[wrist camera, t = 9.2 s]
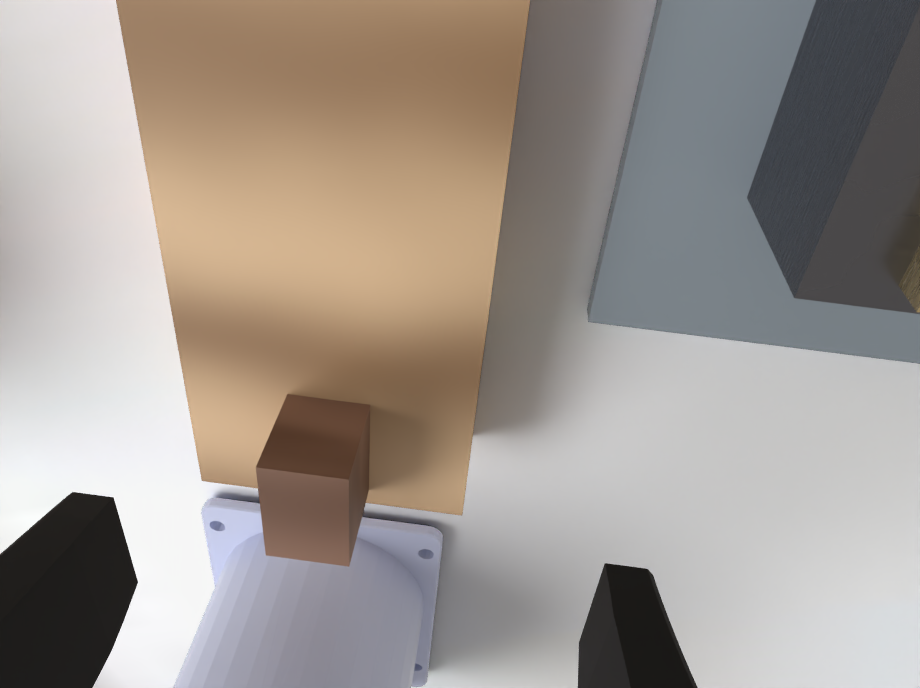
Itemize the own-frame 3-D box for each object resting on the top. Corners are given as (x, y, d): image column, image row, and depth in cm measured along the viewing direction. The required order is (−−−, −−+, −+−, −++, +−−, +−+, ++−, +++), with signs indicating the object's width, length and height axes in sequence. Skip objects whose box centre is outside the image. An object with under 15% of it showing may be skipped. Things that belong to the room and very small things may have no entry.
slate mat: (982, 357, 19) (994, 372, 18) (587, 308, 19) (588, 321, 19) (1371, -245, 12) (1406, -247, 11) (728, -312, 12) (735, -315, 11)
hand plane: (471, 436, 22) (452, 593, 18) (239, 406, 22) (164, 554, 18) (644, -884, 9) (731, -1492, 5) (73, -931, 9) (-350, -1562, 5)
